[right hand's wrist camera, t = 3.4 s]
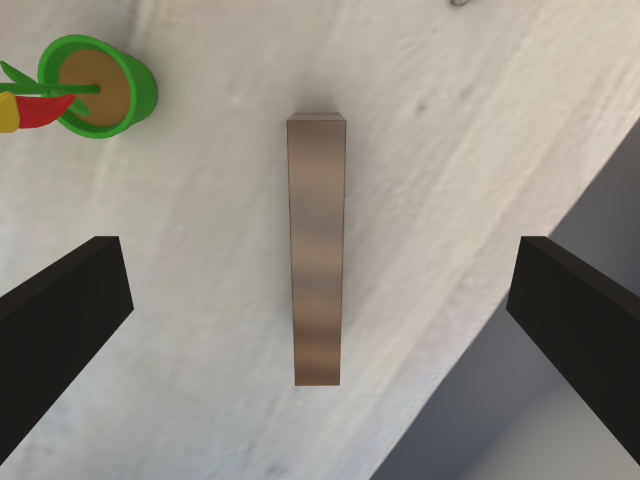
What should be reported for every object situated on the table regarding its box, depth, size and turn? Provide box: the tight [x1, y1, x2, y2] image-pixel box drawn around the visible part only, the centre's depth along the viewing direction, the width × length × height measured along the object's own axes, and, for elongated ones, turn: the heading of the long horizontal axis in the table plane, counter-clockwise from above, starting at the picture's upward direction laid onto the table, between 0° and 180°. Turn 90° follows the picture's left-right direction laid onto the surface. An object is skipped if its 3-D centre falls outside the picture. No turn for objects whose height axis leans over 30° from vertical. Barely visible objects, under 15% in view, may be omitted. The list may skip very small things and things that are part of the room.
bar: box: [287, 113, 346, 386], centre depth 38 cm, size 26×5×10 cm, turn 0°
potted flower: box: [0, 35, 157, 139], centre depth 25 cm, size 9×8×25 cm
